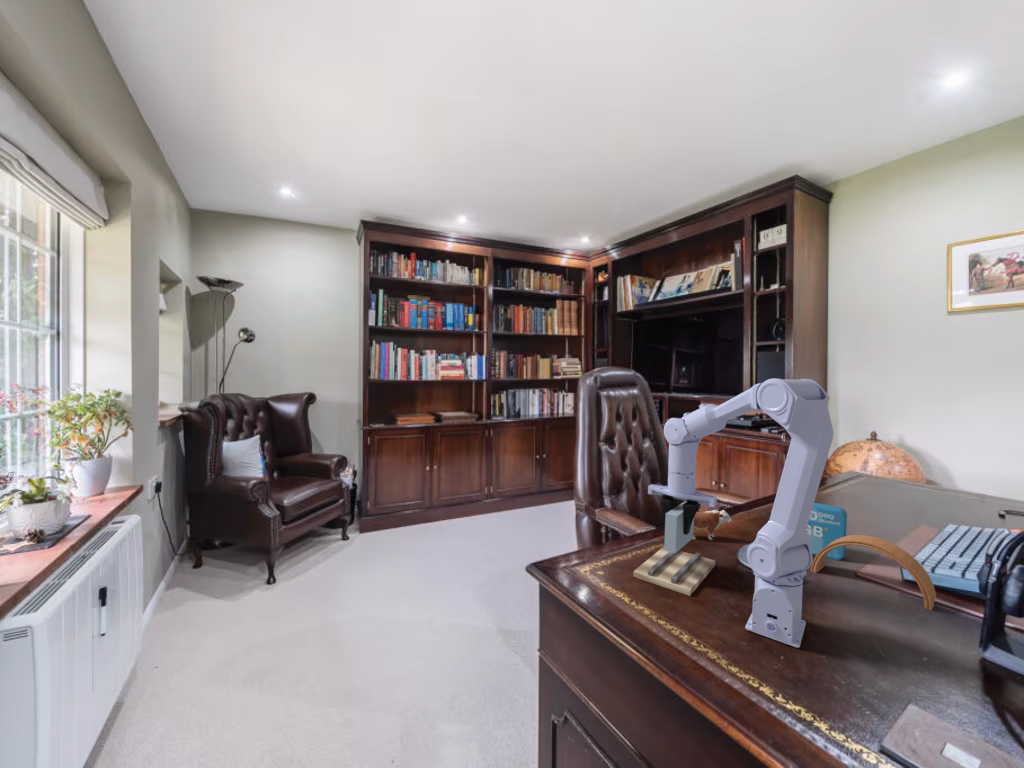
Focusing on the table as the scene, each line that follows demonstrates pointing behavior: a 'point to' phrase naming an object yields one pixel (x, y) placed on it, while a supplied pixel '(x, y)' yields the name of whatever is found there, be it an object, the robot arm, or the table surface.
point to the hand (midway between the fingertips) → (679, 531)
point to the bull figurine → (710, 520)
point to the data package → (827, 528)
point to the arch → (891, 551)
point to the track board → (675, 570)
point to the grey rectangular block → (676, 530)
